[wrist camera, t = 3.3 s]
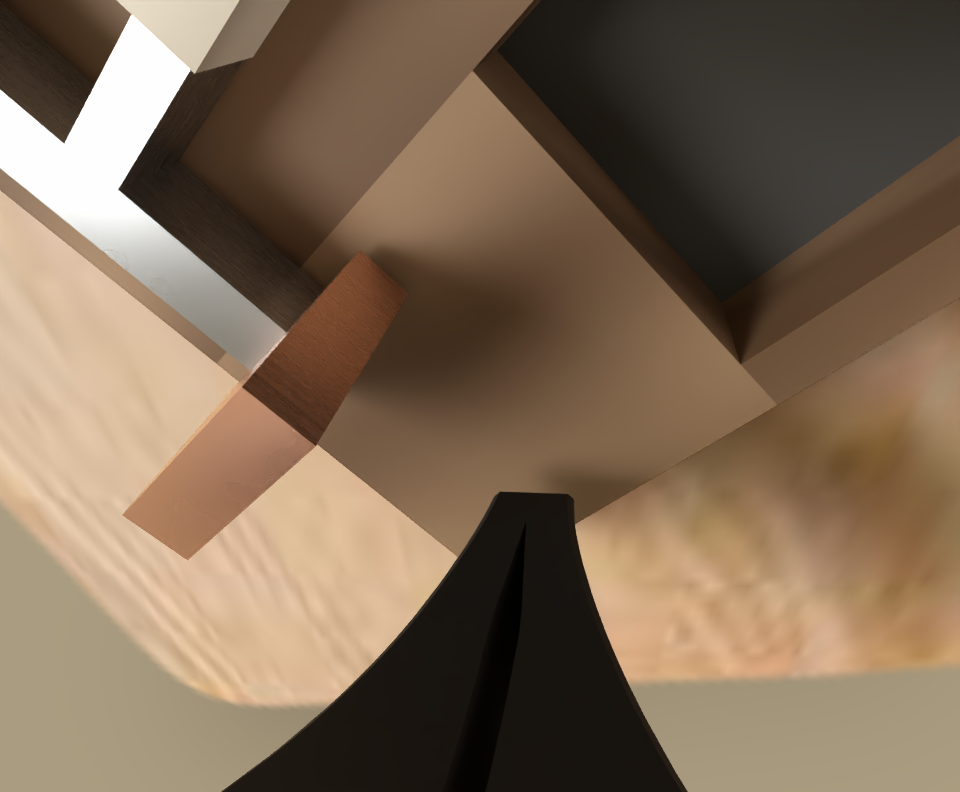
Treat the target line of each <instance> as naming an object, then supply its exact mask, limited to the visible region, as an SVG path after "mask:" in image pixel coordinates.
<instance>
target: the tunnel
mask: <svg viewBox="0 0 960 792" xmlns="http://www.w3.org/2000/svg"><path fill="white" fill-rule="evenodd" d="M0 2H1V3H2V4H3V5H4V6H5V7H6V8H8V9H9V10H10V11H11V12H12V13H13V14H14V15H15V16H17V17H18V18H19V19H20V20H21V21H22V22H23V23H24V24H26V25H27V26H28V27H29V28H30V29H31V30H32V31H33V32H35V33H36V34H37V35H38V36H39V37H40V38H41V39H42V40H44V41H45V42H46V43H47V44H48V45H49V46H50V47H51V48H53V49H54V50H55V51H56V52H57V53H58V54H59V55H60V56H62V57H63V58H64V59H65V60H66V61H67V62H68V63H69V64H71V65H72V66H73V67H74V68H75V69H76V70H77V71H78V72H80V73H81V74H82V75H83V76H84V77H85V78H86V79H87V80H89V81H90V82H91V83H92V84H93V85H94V86H95V84H96V82H97V80H98V78H99V77H100V75H101V73H102V71H103V69H104V67H105V65H106V63H107V61H108V59H109V57H110V55H111V54H112V52H113V50H114V48H115V46H116V44H117V42H118V40H119V38H120V36H121V34H122V32H123V31H124V29H125V27H126V25H127V23H128V21H129V19H130V17H131V15H133V16H134V17H135V18H136V19H137V20H138V21H139V22H140V23H141V24H142V25H143V26H144V27H145V28H147V29H148V30H149V31H150V32H151V33H152V34H153V35H154V36H155V37H156V38H157V39H158V40H159V41H160V42H161V43H163V44H164V45H165V46H166V47H167V48H168V49H169V50H170V51H171V52H172V53H173V54H174V55H175V56H176V57H177V58H178V59H180V60H181V61H182V62H183V63H184V64H185V65H186V66H187V67H188V68H189V69H190V70H191V71H192V72H193V73H194V74H195V73H199V72H202V71H206V70H209V69H213V68H216V67H220V66H223V65H227V64H231V63H234V62H238V61H241V60H244V62H243V63H242V65H241V66H240V68H239V69H238V71H237V72H236V74H235V75H234V77H233V78H232V80H231V82H230V83H229V85H228V86H227V88H226V89H225V91H224V92H223V94H222V95H221V97H220V99H219V100H218V102H217V103H216V105H215V106H214V108H213V109H212V111H211V112H210V114H209V115H208V117H207V119H206V120H205V122H204V123H203V125H202V126H201V128H200V129H199V131H198V132H197V134H196V135H195V137H194V139H193V140H192V142H191V143H190V145H189V146H188V148H187V149H186V151H185V152H184V154H183V155H182V157H181V159H180V160H179V161H180V162H181V163H182V164H183V165H184V166H185V167H187V168H188V169H189V170H190V171H191V172H192V173H193V174H194V175H196V176H197V177H198V178H199V179H200V180H201V181H202V182H203V183H205V184H206V185H207V186H208V187H209V188H210V189H211V190H212V191H214V192H215V193H216V194H217V195H218V196H219V197H220V198H221V199H223V200H224V201H225V202H226V203H227V204H228V205H229V206H230V207H232V208H233V209H234V210H235V211H236V212H237V213H238V214H239V215H241V216H242V217H243V218H244V219H245V220H246V221H247V222H248V223H250V224H251V225H252V226H253V227H254V228H255V229H256V230H257V231H259V232H260V233H261V234H262V235H263V236H264V237H265V238H266V239H268V240H269V241H270V242H271V243H272V244H273V245H274V246H275V247H277V248H278V249H279V250H280V251H281V252H282V253H283V254H284V255H286V256H287V257H288V258H289V259H290V260H291V261H292V262H294V263H295V264H296V265H297V266H298V267H299V268H300V269H301V270H303V271H304V272H305V273H306V274H307V275H308V276H309V277H310V278H312V279H313V280H314V281H315V282H316V283H317V284H318V285H319V286H321V287H322V288H323V289H324V288H325V287H326V286H327V285H328V284H329V283H330V282H331V281H332V280H333V279H334V278H335V276H336V275H337V274H338V273H339V272H340V271H341V270H342V269H343V268H344V267H345V266H346V265H347V263H348V262H349V261H350V260H351V259H352V258H353V257H354V256H355V255H356V254H357V253H358V252H359V250H362V251H363V252H364V253H365V254H366V255H367V256H368V257H369V258H370V259H371V260H372V261H373V262H374V263H376V264H377V265H378V266H379V267H380V268H381V269H382V270H383V271H384V272H385V273H386V274H387V275H388V276H390V277H391V278H392V279H393V280H394V281H395V282H396V283H397V284H398V285H399V286H400V287H401V288H402V289H404V290H405V291H406V292H407V293H408V295H407V297H406V299H405V300H404V302H403V303H402V305H401V307H400V308H399V310H398V312H397V313H396V315H395V317H394V318H393V320H392V322H391V323H390V325H389V326H388V328H387V330H386V331H385V333H384V335H383V336H382V338H381V340H380V341H379V343H378V345H377V346H376V348H375V349H374V351H373V353H372V354H371V356H370V358H369V359H368V361H367V363H366V364H365V366H364V368H363V369H362V371H361V373H360V374H359V376H358V377H357V379H356V381H355V382H354V384H353V386H352V387H351V389H350V391H349V392H348V394H347V396H346V397H345V399H344V400H343V402H342V404H341V405H340V407H339V409H338V410H337V412H336V414H335V415H334V417H333V419H332V420H331V422H330V423H329V425H328V427H327V428H326V430H325V432H324V433H323V435H322V437H321V438H320V440H319V442H318V443H317V444H318V445H319V446H320V447H321V448H323V449H324V450H325V451H326V452H328V453H329V454H330V455H331V456H333V457H334V458H335V459H336V460H338V461H339V462H340V463H341V464H343V465H344V466H345V467H346V468H348V469H349V470H350V471H351V472H353V473H354V474H355V475H356V476H358V477H359V478H360V479H361V480H363V481H364V482H365V483H366V484H368V485H369V486H370V487H371V488H373V489H374V490H375V491H376V492H378V493H379V494H380V495H381V496H383V497H384V498H385V499H386V500H388V501H389V502H390V503H391V504H393V505H394V506H395V507H396V508H398V509H399V510H400V511H401V512H403V513H404V514H405V515H406V516H407V517H409V518H410V519H411V520H412V521H414V522H415V523H416V524H417V525H419V526H420V527H421V528H422V529H424V530H425V531H426V532H427V533H429V534H430V535H431V536H432V537H434V538H435V539H436V540H437V541H439V542H440V543H441V544H442V545H444V546H445V547H446V548H447V549H449V550H450V551H451V552H452V553H454V554H455V555H456V556H457V557H459V555H460V554H461V552H462V551H463V549H464V548H465V546H466V545H467V543H468V542H469V540H470V538H471V537H472V535H473V533H474V532H475V530H476V529H477V527H478V525H479V524H480V522H481V520H482V518H483V517H484V515H485V513H486V511H487V509H488V508H489V506H490V504H491V502H492V500H493V498H494V496H495V495H496V494H498V493H499V492H530V493H559V494H569V495H570V496H571V497H572V498H573V499H574V510H575V524H576V523H578V522H579V521H581V520H583V519H584V518H586V517H588V516H589V515H591V514H593V513H595V512H596V511H598V510H600V509H601V508H603V507H605V506H606V505H608V504H610V503H612V502H613V501H615V500H617V499H618V498H620V497H622V496H623V495H625V494H627V493H629V492H630V491H632V490H634V489H635V488H637V487H639V486H640V485H642V484H644V483H646V482H647V481H649V480H651V479H652V478H654V477H656V476H657V475H659V474H661V473H663V472H664V471H666V470H668V469H669V468H671V467H673V466H674V465H676V464H678V463H680V462H681V461H683V460H685V459H686V458H688V457H690V456H691V455H693V454H695V453H697V452H698V451H700V450H702V449H703V448H705V447H707V446H708V445H710V444H712V443H714V442H715V441H717V440H719V439H720V438H722V437H724V436H725V435H727V434H729V433H731V432H732V431H734V430H736V429H737V428H739V427H741V426H742V425H744V424H746V423H748V422H749V421H751V420H753V419H754V418H756V417H758V416H759V415H761V414H763V413H765V412H766V411H768V410H770V409H771V408H773V407H775V406H776V405H778V404H780V403H782V402H783V401H785V400H787V399H788V398H790V397H792V396H793V395H795V394H797V393H799V392H800V391H802V390H804V389H805V388H807V387H809V386H810V385H812V384H814V383H816V382H817V381H819V380H821V379H822V378H824V377H826V376H827V375H829V374H831V373H833V372H834V371H836V370H838V369H839V368H841V367H843V366H844V365H846V364H848V363H850V362H851V361H853V360H855V359H856V358H858V357H860V356H861V355H863V354H865V353H867V352H868V351H870V350H872V349H873V348H875V347H877V346H878V345H880V344H882V343H884V342H885V341H887V340H889V339H890V338H892V337H894V336H895V335H897V334H899V333H901V332H902V331H904V330H906V329H907V328H909V327H911V326H912V325H914V324H916V323H918V322H919V321H921V320H923V319H924V318H926V317H928V316H929V315H931V314H933V313H935V312H936V311H938V310H940V309H941V308H943V307H945V306H946V305H948V304H950V303H952V302H953V301H955V300H957V299H958V298H960V0H0ZM0 190H1V191H2V192H3V193H4V194H6V195H7V196H8V197H9V198H11V199H12V200H13V201H14V202H16V203H17V204H18V205H19V206H21V207H22V208H23V209H24V210H26V211H27V212H28V213H29V214H31V215H32V216H33V217H34V218H36V219H37V220H38V221H39V222H41V223H42V224H43V225H44V226H46V227H47V228H48V229H49V230H51V231H52V232H53V233H54V234H56V235H57V236H58V237H59V238H61V239H62V240H63V241H64V242H66V243H67V244H68V245H69V246H71V247H72V248H73V249H74V250H76V251H77V252H78V253H79V254H81V255H82V256H83V257H84V258H86V259H87V260H88V261H89V262H91V263H92V264H93V265H94V266H96V267H97V268H98V269H99V270H100V271H102V272H103V273H104V274H105V275H107V276H108V277H109V278H110V279H112V280H113V281H114V282H115V283H117V284H118V285H119V286H120V287H122V288H123V289H124V290H125V291H127V292H128V293H129V294H130V295H132V296H133V297H134V298H135V299H137V300H138V301H139V302H140V303H142V304H143V305H144V306H145V307H147V308H148V309H149V310H150V311H152V312H153V313H154V314H155V315H157V316H158V317H159V318H160V319H162V320H163V321H164V322H165V323H167V324H168V325H169V326H170V327H172V328H173V329H174V330H175V331H177V332H178V333H179V334H180V335H182V336H183V337H184V338H185V339H187V340H188V341H189V342H190V343H192V344H193V345H194V346H195V347H197V348H198V349H199V350H200V351H202V352H203V353H204V354H205V355H207V356H208V357H209V358H210V359H212V360H213V361H214V362H215V363H217V364H218V365H219V366H220V367H222V368H223V369H224V370H225V371H227V372H228V373H229V374H230V375H232V376H233V377H234V378H235V379H237V380H238V381H239V382H240V380H241V379H242V378H243V377H244V376H245V375H246V374H247V373H248V371H249V369H247V368H246V367H245V366H244V365H242V364H241V363H240V362H239V361H237V360H236V359H235V358H234V357H233V356H231V355H230V354H229V353H228V352H226V351H225V350H224V349H223V348H221V347H220V346H219V345H218V344H216V343H215V342H214V341H213V340H212V339H210V338H209V337H208V336H207V335H205V334H204V333H203V332H202V331H200V330H199V329H198V328H197V327H196V326H194V325H193V324H192V323H191V322H189V321H188V320H187V319H186V318H184V317H183V316H182V315H181V314H180V313H178V312H177V311H176V310H175V309H173V308H172V307H171V306H170V305H168V304H167V303H166V302H165V301H163V300H162V299H161V298H160V297H159V296H157V295H156V294H155V293H154V292H152V291H151V290H150V289H149V288H147V287H146V286H145V285H144V284H143V283H141V282H140V281H139V280H138V279H136V278H135V277H134V276H133V275H131V274H130V273H129V272H128V271H127V270H125V269H124V268H123V267H122V266H120V265H119V264H118V263H117V262H115V261H114V260H113V259H112V258H111V257H109V256H108V255H107V254H106V253H104V252H103V251H102V250H101V249H99V248H98V247H97V246H96V245H94V244H93V243H92V242H91V241H90V240H88V239H87V238H86V237H85V236H83V235H82V234H81V233H80V232H78V231H77V230H76V229H75V228H74V227H72V226H71V225H70V224H69V223H67V222H66V221H65V220H64V219H62V218H61V217H60V216H59V215H58V214H56V213H55V212H54V211H53V210H51V209H50V208H49V207H48V206H46V205H45V204H44V203H43V202H42V201H40V200H39V199H38V198H37V197H35V196H34V195H33V194H32V193H30V192H29V191H28V190H27V189H25V188H24V187H23V186H22V185H21V184H19V183H18V182H17V181H16V180H14V179H13V178H12V177H11V176H9V175H8V174H7V173H6V172H5V171H3V170H2V169H1V168H0Z"/></svg>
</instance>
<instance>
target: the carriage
mask: <svg viewBox="0 0 960 792" xmlns="http://www.w3.org/2000/svg"><path fill="white" fill-rule="evenodd" d="M243 62H244V60H241V61H238V62H234V63H231V64H227V65H223V66H220V67H216V68H213V69H209V70H206V71H202V72H199V73H195V74H194V73H193V72H192V71H191V70H190V69H189V68H188V67H187V66H186V65H185V64H184V63H183V62H182V61H181V60H180V59H178V58H177V57H176V56H175V55H174V54H173V53H172V52H171V51H170V50H169V49H168V48H167V47H166V46H165V45H164V44H163V43H161V42H160V41H159V40H158V39H157V38H156V37H155V36H154V35H153V34H152V33H151V32H150V31H149V30H148V29H147V28H145V27H144V26H143V25H142V24H141V23H140V22H139V21H138V20H137V19H136V18H135V17H134V16H133V15H131V17H130V19H129V21H128V23H127V25H126V27H125V29H124V31H123V32H122V34H121V36H120V38H119V40H118V42H117V44H116V46H115V48H114V50H113V52H112V54H111V55H110V57H109V59H108V61H107V63H106V65H105V67H104V69H103V71H102V73H101V75H100V77H99V78H98V80H97V82H96V84H95V86H94V85H93V84H92V83H91V82H90V81H89V80H87V79H86V78H85V77H84V76H83V75H82V74H81V73H80V72H78V71H77V70H76V69H75V68H74V67H73V66H72V65H71V64H69V63H68V62H67V61H66V60H65V59H64V58H63V57H62V56H60V55H59V54H58V53H57V52H56V51H55V50H54V49H53V48H51V47H50V46H49V45H48V44H47V43H46V42H45V41H44V40H42V39H41V38H40V37H39V36H38V35H37V34H36V33H35V32H33V31H32V30H31V29H30V28H29V27H28V26H27V25H26V24H24V23H23V22H22V21H21V20H20V19H19V18H18V17H17V16H15V15H14V14H13V13H12V12H11V11H10V10H9V9H8V8H6V7H5V6H4V5H3V4H2V3H1V2H0V168H1V169H2V170H3V171H5V172H6V173H7V174H8V175H9V176H11V177H12V178H13V179H14V180H16V181H17V182H18V183H19V184H21V185H22V186H23V187H24V188H25V189H27V190H28V191H29V192H30V193H32V194H33V195H34V196H35V197H37V198H38V199H39V200H40V201H42V202H43V203H44V204H45V205H46V206H48V207H49V208H50V209H51V210H53V211H54V212H55V213H56V214H58V215H59V216H60V217H61V218H62V219H64V220H65V221H66V222H67V223H69V224H70V225H71V226H72V227H74V228H75V229H76V230H77V231H78V232H80V233H81V234H82V235H83V236H85V237H86V238H87V239H88V240H90V241H91V242H92V243H93V244H94V245H96V246H97V247H98V248H99V249H101V250H102V251H103V252H104V253H106V254H107V255H108V256H109V257H111V258H112V259H113V260H114V261H115V262H117V263H118V264H119V265H120V266H122V267H123V268H124V269H125V270H127V271H128V272H129V273H130V274H131V275H133V276H134V277H135V278H136V279H138V280H139V281H140V282H141V283H143V284H144V285H145V286H146V287H147V288H149V289H150V290H151V291H152V292H154V293H155V294H156V295H157V296H159V297H160V298H161V299H162V300H163V301H165V302H166V303H167V304H168V305H170V306H171V307H172V308H173V309H175V310H176V311H177V312H178V313H180V314H181V315H182V316H183V317H184V318H186V319H187V320H188V321H189V322H191V323H192V324H193V325H194V326H196V327H197V328H198V329H199V330H200V331H202V332H203V333H204V334H205V335H207V336H208V337H209V338H210V339H212V340H213V341H214V342H215V343H216V344H218V345H219V346H220V347H221V348H223V349H224V350H225V351H226V352H228V353H229V354H230V355H231V356H233V357H234V358H235V359H236V360H237V361H239V362H240V363H241V364H242V365H244V366H245V367H246V368H247V369H249V371H248V373H247V374H246V375H245V376H244V377H243V378H242V379H241V380H240V382H239V383H238V384H237V385H236V386H235V387H234V388H233V390H232V391H231V392H230V393H229V394H228V395H227V396H226V398H225V399H224V400H223V401H222V402H221V403H220V404H219V406H218V407H217V408H216V409H215V410H214V411H213V412H212V413H211V415H210V416H209V417H208V418H207V419H206V420H205V421H204V423H203V424H202V425H201V426H200V427H199V428H198V429H197V431H196V432H195V433H194V434H193V435H192V436H191V437H190V439H189V440H188V441H187V442H186V443H185V444H184V445H183V446H182V448H181V449H180V450H179V451H178V452H177V453H176V454H175V456H174V457H173V458H172V459H171V460H170V461H169V462H168V464H167V465H166V466H165V467H164V468H163V469H162V470H161V472H160V473H159V474H158V475H157V476H156V477H155V478H154V480H153V481H152V482H151V483H150V484H149V485H148V486H147V487H146V489H145V490H144V491H143V492H142V493H141V494H140V495H139V497H138V498H137V499H136V500H135V501H134V502H133V503H132V505H131V506H130V507H129V508H128V509H127V510H126V511H125V513H124V514H123V516H124V517H126V518H127V519H129V520H130V521H132V522H133V523H135V524H136V525H137V526H139V527H140V528H142V529H143V530H145V531H146V532H148V533H149V534H150V535H152V536H153V537H155V538H156V539H158V540H159V541H161V542H162V543H163V544H165V545H166V546H168V547H169V548H171V549H172V550H174V551H175V552H177V553H178V554H179V555H181V556H182V557H184V558H185V559H187V560H188V559H189V558H191V557H192V556H193V555H194V554H195V553H196V552H197V551H198V550H200V549H201V548H202V547H203V546H204V545H205V544H206V543H207V542H209V541H210V540H211V539H212V538H213V537H214V536H215V535H216V534H218V533H219V532H220V531H221V530H222V529H223V528H224V527H225V526H227V525H228V524H229V523H230V522H231V521H232V520H233V519H234V518H236V517H237V516H238V515H239V514H240V513H241V512H242V511H243V510H245V509H246V508H247V507H248V506H249V505H250V504H251V503H252V502H254V501H255V500H256V499H257V498H258V497H259V496H260V495H261V494H262V493H264V492H265V491H266V490H267V489H268V488H269V487H270V486H271V485H273V484H274V483H275V482H276V481H277V480H278V479H279V478H280V477H282V476H283V475H284V474H285V473H286V472H287V471H288V470H289V469H291V468H292V467H293V466H294V465H295V464H296V463H297V462H298V461H300V460H301V459H302V458H303V457H304V456H305V455H306V454H307V453H309V452H310V451H311V450H312V449H313V448H314V447H315V446H316V445H317V443H318V442H319V440H320V438H321V437H322V435H323V433H324V432H325V430H326V428H327V427H328V425H329V423H330V422H331V420H332V419H333V417H334V415H335V414H336V412H337V410H338V409H339V407H340V405H341V404H342V402H343V400H344V399H345V397H346V396H347V394H348V392H349V391H350V389H351V387H352V386H353V384H354V382H355V381H356V379H357V377H358V376H359V374H360V373H361V371H362V369H363V368H364V366H365V364H366V363H367V361H368V359H369V358H370V356H371V354H372V353H373V351H374V349H375V348H376V346H377V345H378V343H379V341H380V340H381V338H382V336H383V335H384V333H385V331H386V330H387V328H388V326H389V325H390V323H391V322H392V320H393V318H394V317H395V315H396V313H397V312H398V310H399V308H400V307H401V305H402V303H403V302H404V300H405V299H406V297H407V295H408V293H407V292H406V291H405V290H404V289H402V288H401V287H400V286H399V285H398V284H397V283H396V282H395V281H394V280H393V279H392V278H391V277H390V276H388V275H387V274H386V273H385V272H384V271H383V270H382V269H381V268H380V267H379V266H378V265H377V264H376V263H374V262H373V261H372V260H371V259H370V258H369V257H368V256H367V255H366V254H365V253H364V252H363V251H362V250H359V252H358V253H357V254H356V255H355V256H354V257H353V258H352V259H351V260H350V261H349V262H348V263H347V265H346V266H345V267H344V268H343V269H342V270H341V271H340V272H339V273H338V274H337V275H336V276H335V278H334V279H333V280H332V281H331V282H330V283H329V284H328V285H327V286H326V287H325V288H324V289H323V288H322V287H321V286H319V285H318V284H317V283H316V282H315V281H314V280H313V279H312V278H310V277H309V276H308V275H307V274H306V273H305V272H304V271H303V270H301V269H300V268H299V267H298V266H297V265H296V264H295V263H294V262H292V261H291V260H290V259H289V258H288V257H287V256H286V255H284V254H283V253H282V252H281V251H280V250H279V249H278V248H277V247H275V246H274V245H273V244H272V243H271V242H270V241H269V240H268V239H266V238H265V237H264V236H263V235H262V234H261V233H260V232H259V231H257V230H256V229H255V228H254V227H253V226H252V225H251V224H250V223H248V222H247V221H246V220H245V219H244V218H243V217H242V216H241V215H239V214H238V213H237V212H236V211H235V210H234V209H233V208H232V207H230V206H229V205H228V204H227V203H226V202H225V201H224V200H223V199H221V198H220V197H219V196H218V195H217V194H216V193H215V192H214V191H212V190H211V189H210V188H209V187H208V186H207V185H206V184H205V183H203V182H202V181H201V180H200V179H199V178H198V177H197V176H196V175H194V174H193V173H192V172H191V171H190V170H189V169H188V168H187V167H185V166H184V165H183V164H182V163H181V162H180V161H179V160H180V159H181V157H182V155H183V154H184V152H185V151H186V149H187V148H188V146H189V145H190V143H191V142H192V140H193V139H194V137H195V135H196V134H197V132H198V131H199V129H200V128H201V126H202V125H203V123H204V122H205V120H206V119H207V117H208V115H209V114H210V112H211V111H212V109H213V108H214V106H215V105H216V103H217V102H218V100H219V99H220V97H221V95H222V94H223V92H224V91H225V89H226V88H227V86H228V85H229V83H230V82H231V80H232V78H233V77H234V75H235V74H236V72H237V71H238V69H239V68H240V66H241V65H242V63H243Z"/></svg>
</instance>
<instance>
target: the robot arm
mask: <svg viewBox="0 0 960 792" xmlns="http://www.w3.org/2000/svg"><path fill="white" fill-rule="evenodd" d="M222 792H687V790H686V788H685V787H684V785H683V784H682V782H681V780H680V779H679V777H678V775H677V774H676V772H675V770H674V768H673V767H672V765H671V763H670V761H669V759H668V758H667V756H666V754H665V752H664V751H663V749H662V747H661V745H660V743H659V742H658V740H657V738H656V736H655V734H654V733H653V731H652V729H651V727H650V725H649V724H648V722H647V720H646V718H645V716H644V715H643V712H642V711H641V708H640V707H639V705H638V702H637V701H636V698H635V696H634V694H633V692H632V691H631V688H630V686H629V684H628V682H627V680H626V678H625V676H624V673H623V671H622V669H621V667H620V665H619V662H618V660H617V658H616V656H615V653H614V651H613V649H612V646H611V644H610V641H609V639H608V636H607V634H606V631H605V629H604V626H603V623H602V621H601V618H600V616H599V613H598V610H597V607H596V604H595V602H594V599H593V596H592V593H591V589H590V586H589V583H588V579H587V576H586V573H585V569H584V566H583V562H582V559H581V555H580V550H579V546H578V541H577V536H576V530H575V510H574V499H573V498H572V497H571V496H570V495H569V494H559V493H530V492H499V493H498V494H496V495H495V496H494V498H493V500H492V502H491V504H490V506H489V508H488V509H487V511H486V513H485V515H484V517H483V518H482V520H481V522H480V524H479V525H478V527H477V529H476V530H475V532H474V533H473V535H472V537H471V538H470V540H469V542H468V543H467V545H466V546H465V548H464V549H463V551H462V552H461V554H460V555H459V557H458V558H457V560H456V561H455V563H454V564H453V565H452V567H451V568H450V570H449V571H448V573H447V574H446V576H445V577H444V579H443V580H442V581H441V583H440V584H439V585H438V587H437V588H436V589H435V591H434V592H433V593H432V594H431V596H430V597H429V598H428V600H427V601H426V602H425V603H424V605H423V606H422V607H421V609H420V610H419V611H418V613H417V614H416V615H415V616H414V618H413V619H412V620H411V621H410V622H409V624H408V625H407V626H406V627H405V628H404V629H403V631H402V632H401V633H400V634H399V635H398V636H397V638H396V639H395V640H394V641H393V642H392V643H391V644H390V645H389V646H388V647H387V649H386V650H385V651H384V652H383V653H382V654H381V655H380V656H379V657H378V658H377V659H376V660H375V662H374V663H373V664H372V665H371V666H370V667H369V668H368V669H367V670H366V671H365V672H364V673H363V674H362V675H361V676H360V677H359V678H358V679H357V680H356V681H355V682H354V683H353V684H352V685H351V686H350V687H349V688H348V689H346V690H345V691H344V692H343V693H342V694H341V695H340V696H339V697H338V698H337V699H336V700H335V701H334V702H333V703H332V704H330V705H329V706H328V707H327V708H326V709H325V710H324V711H323V712H321V713H320V714H319V715H318V716H317V717H315V718H314V719H313V720H312V721H311V722H310V723H308V724H307V725H306V726H305V727H304V728H303V729H301V730H300V731H299V732H298V733H297V734H296V735H294V736H293V737H292V738H291V739H290V740H289V741H287V742H286V743H285V744H284V745H283V746H281V747H280V748H279V749H278V750H276V751H275V752H274V753H273V754H271V755H270V756H269V757H267V758H266V759H265V760H263V761H262V762H261V763H259V764H258V765H257V766H255V767H254V768H253V769H251V770H250V771H249V772H247V773H246V774H245V775H243V776H242V777H241V778H239V779H238V780H236V781H235V782H234V783H232V784H231V785H230V786H228V787H227V788H226V789H224V790H223V791H222Z"/></svg>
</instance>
